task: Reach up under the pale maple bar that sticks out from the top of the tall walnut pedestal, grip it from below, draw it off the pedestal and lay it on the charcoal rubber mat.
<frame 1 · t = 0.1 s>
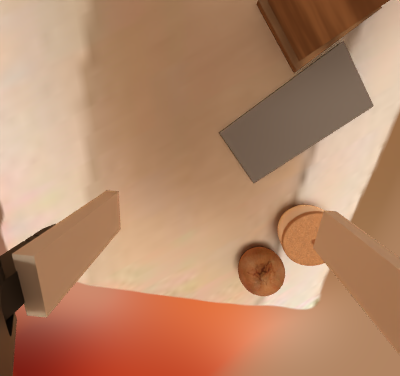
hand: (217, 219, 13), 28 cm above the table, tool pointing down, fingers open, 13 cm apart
walnut pedestal: (315, 7, 32), on the table
rubber mat: (292, 120, 37), on the table
lidded jar: (296, 220, 44), on the table
onion: (256, 256, 47), on the table
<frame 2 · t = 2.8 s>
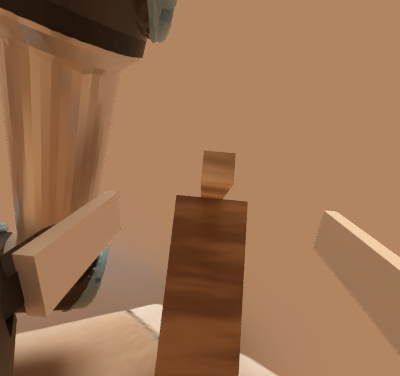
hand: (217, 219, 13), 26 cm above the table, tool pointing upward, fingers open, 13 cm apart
maple bar: (210, 201, 32), point 30 cm above the table, touching walnut pedestal
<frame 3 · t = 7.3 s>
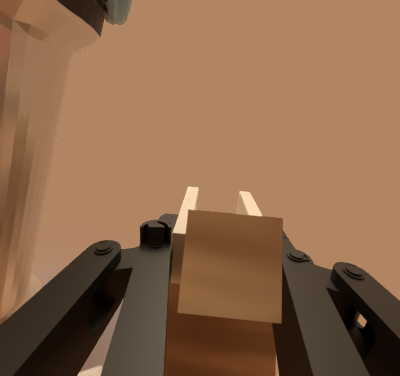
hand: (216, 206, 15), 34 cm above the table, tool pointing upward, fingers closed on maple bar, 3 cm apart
maple bar: (209, 258, 19), point 30 cm above the table, touching gripper
when the fingers open (14 cm above the table, at t = 17.9 s): maple bar drops 8 cm, resting on rubber mat.
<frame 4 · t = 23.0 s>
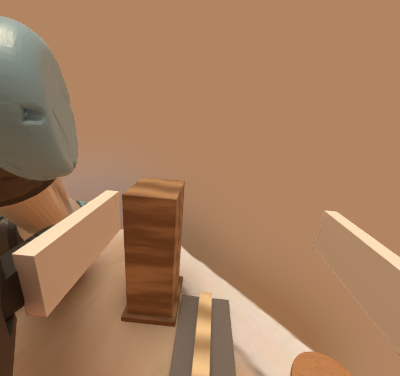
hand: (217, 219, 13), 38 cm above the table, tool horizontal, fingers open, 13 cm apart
walnut pedestal: (155, 297, 52), on the table
rubber mat: (203, 348, 42), on the table
maple bar: (201, 357, 39), point 1 cm above the table, touching rubber mat
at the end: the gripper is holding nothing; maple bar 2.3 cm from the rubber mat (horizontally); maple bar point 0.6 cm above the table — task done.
